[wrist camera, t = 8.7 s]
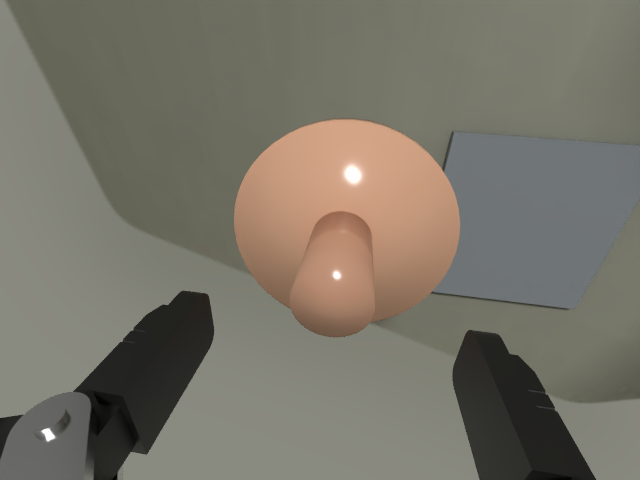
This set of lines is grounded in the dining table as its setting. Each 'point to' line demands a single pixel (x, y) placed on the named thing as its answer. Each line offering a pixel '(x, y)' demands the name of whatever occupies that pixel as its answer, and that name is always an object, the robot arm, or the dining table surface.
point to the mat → (536, 214)
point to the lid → (346, 223)
